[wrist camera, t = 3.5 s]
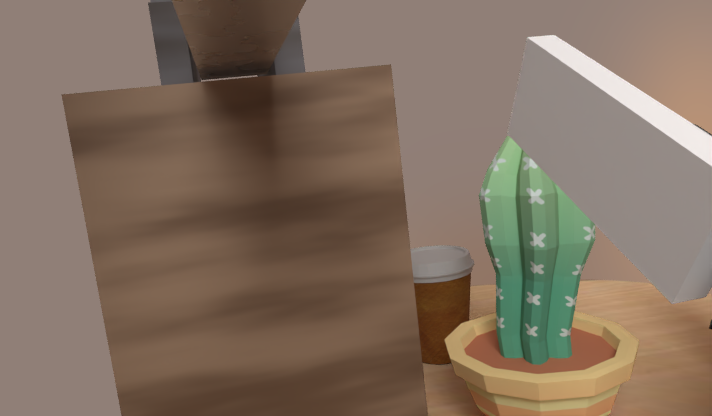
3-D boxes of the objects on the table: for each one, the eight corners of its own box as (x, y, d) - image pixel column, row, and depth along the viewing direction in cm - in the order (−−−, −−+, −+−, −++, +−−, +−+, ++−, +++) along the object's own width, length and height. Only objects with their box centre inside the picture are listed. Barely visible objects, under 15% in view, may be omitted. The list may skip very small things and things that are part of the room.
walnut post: (444, 573, 33) (379, -43, 28) (167, 659, 29) (39, -27, 24) (368, 425, 50) (321, 31, 45) (189, 468, 47) (117, 46, 42)
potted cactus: (666, 497, 37) (650, 126, 33) (439, 477, 42) (405, 151, 38) (627, 388, 51) (613, 122, 48) (462, 383, 56) (439, 140, 53)
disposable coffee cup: (384, 360, 64) (372, 261, 62) (431, 332, 71) (422, 242, 69) (452, 378, 57) (442, 268, 56) (497, 346, 64) (489, 247, 63)
